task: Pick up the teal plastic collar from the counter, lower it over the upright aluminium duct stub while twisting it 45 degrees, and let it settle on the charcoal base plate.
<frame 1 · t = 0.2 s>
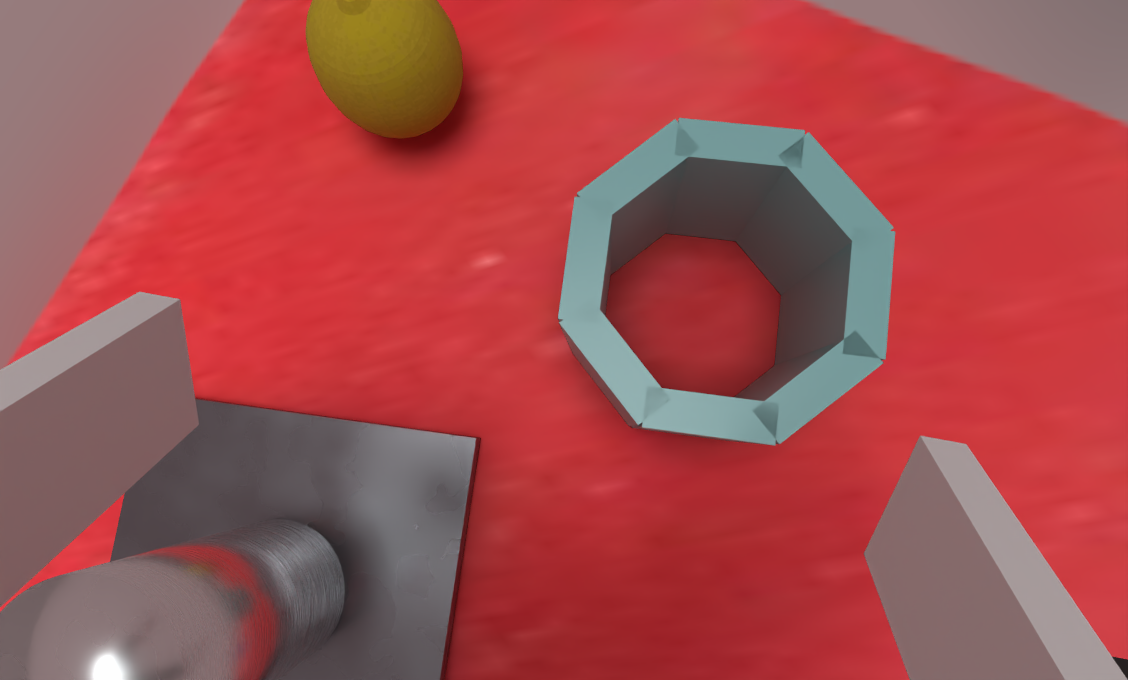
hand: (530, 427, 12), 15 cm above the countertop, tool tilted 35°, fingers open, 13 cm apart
collar: (691, 319, 28), on the countertop
lemon: (419, 110, 30), on the countertop
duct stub: (287, 586, 27), on the countertop
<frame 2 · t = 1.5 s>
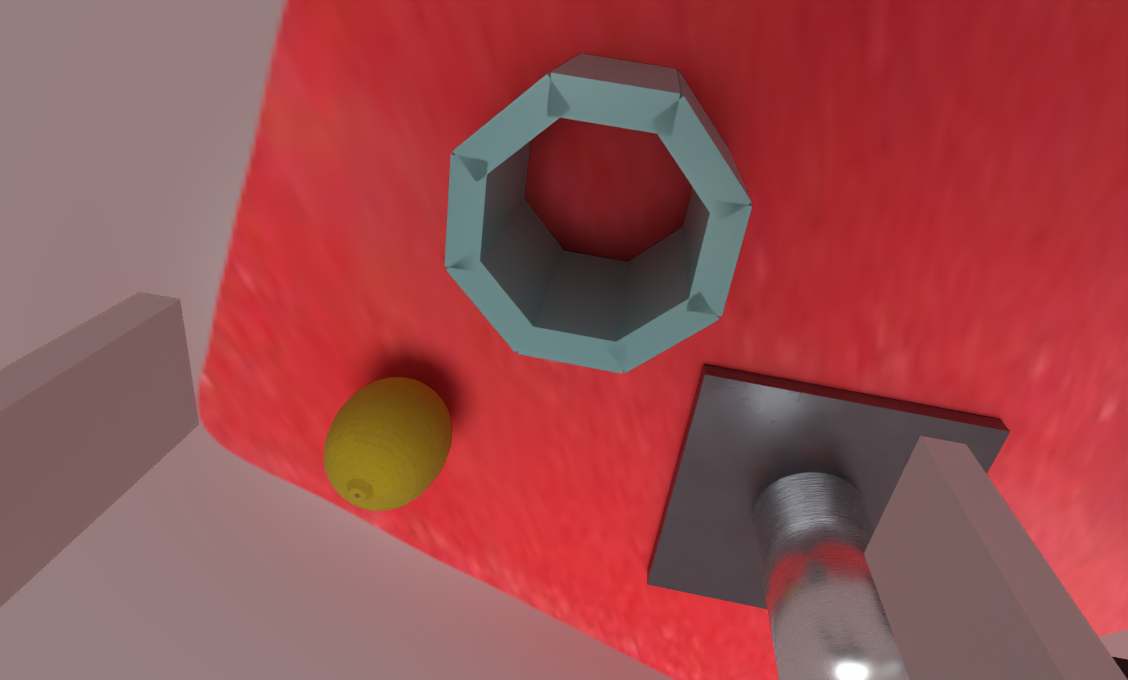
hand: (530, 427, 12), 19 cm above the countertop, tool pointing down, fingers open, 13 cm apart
collar: (608, 179, 29), on the countertop
lemon: (420, 394, 35), on the countertop
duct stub: (805, 503, 35), on the countertop
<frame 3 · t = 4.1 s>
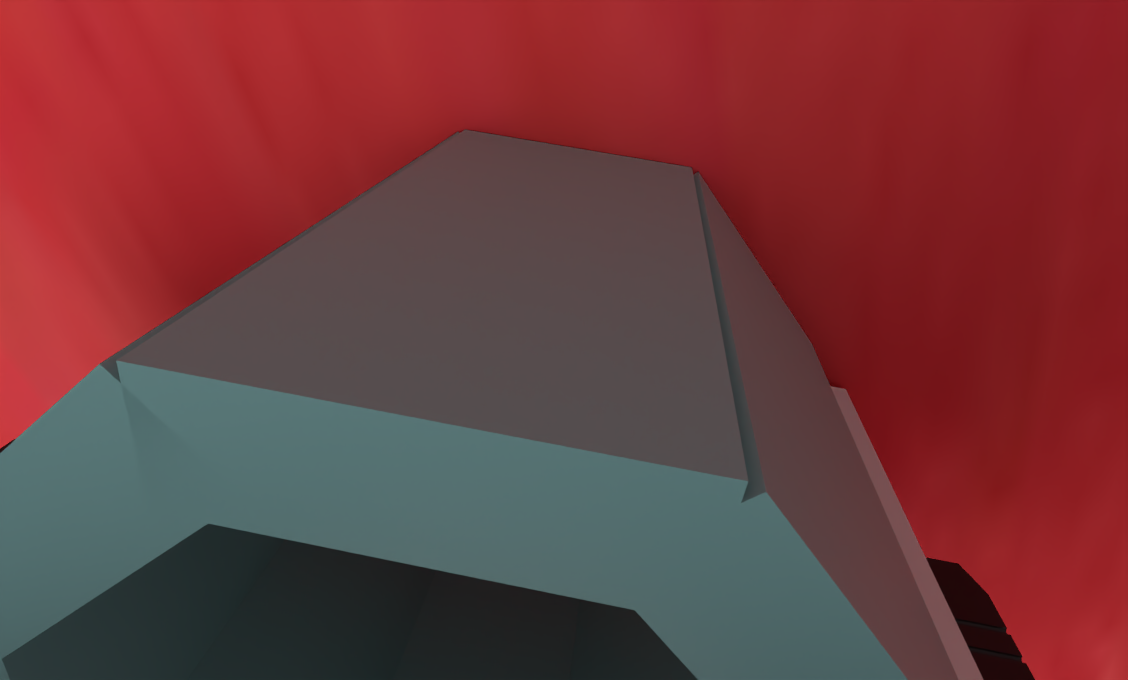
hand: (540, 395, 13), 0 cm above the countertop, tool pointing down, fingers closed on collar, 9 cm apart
collar: (543, 389, 13), on the countertop, touching gripper
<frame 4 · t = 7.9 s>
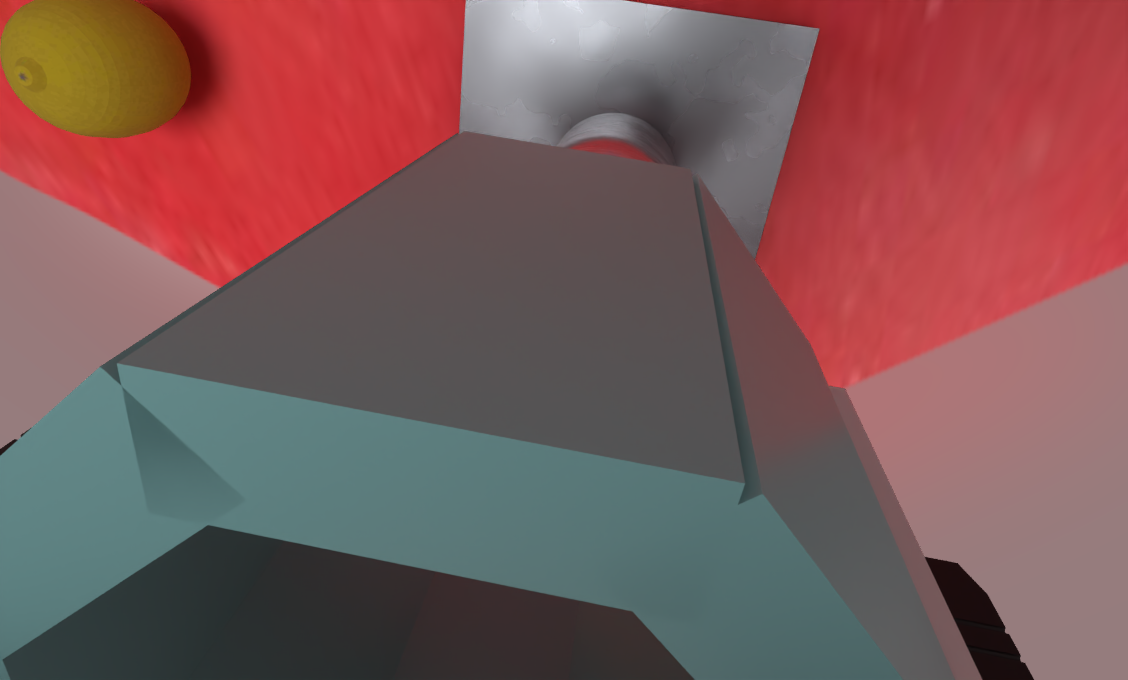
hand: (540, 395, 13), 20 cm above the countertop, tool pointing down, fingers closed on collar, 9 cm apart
collar: (542, 390, 13), point 19 cm above the countertop, touching gripper
lemon: (172, 57, 31), on the countertop
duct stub: (613, 173, 30), on the countertop
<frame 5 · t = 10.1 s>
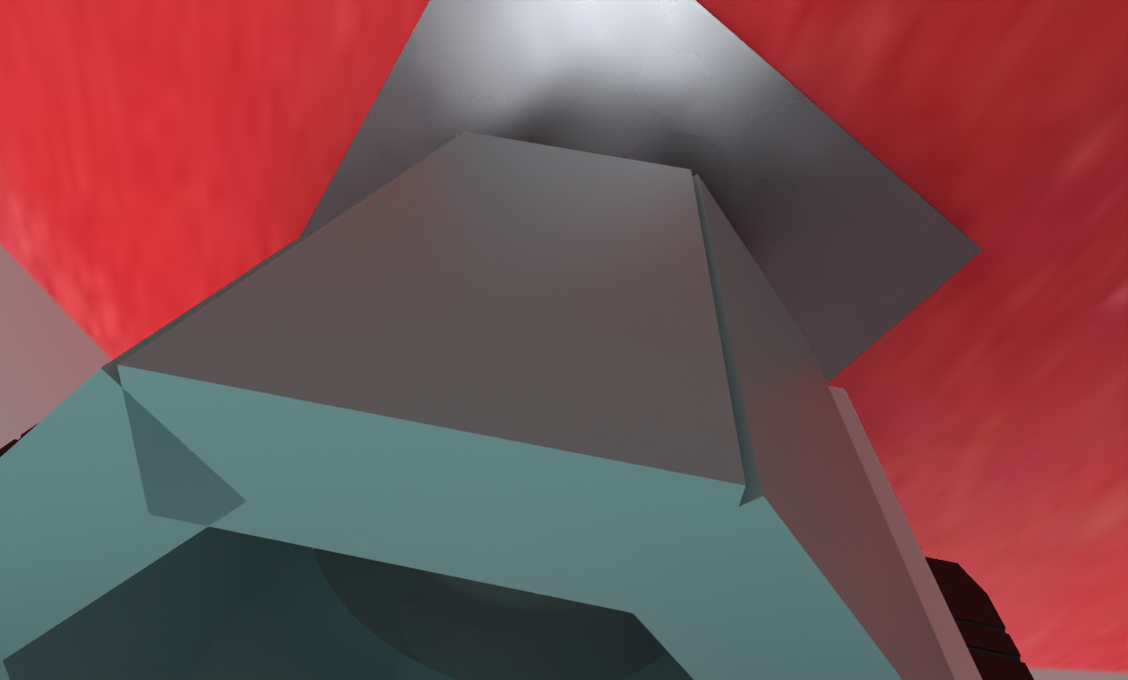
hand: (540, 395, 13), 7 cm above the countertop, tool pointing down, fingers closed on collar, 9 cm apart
collar: (542, 391, 13), point 7 cm above the countertop, touching gripper
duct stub: (585, 272, 19), on the countertop
when the fingers open (3 cm above the countertop, at t = 11.9 s): collar drops 2 cm, resting on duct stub.
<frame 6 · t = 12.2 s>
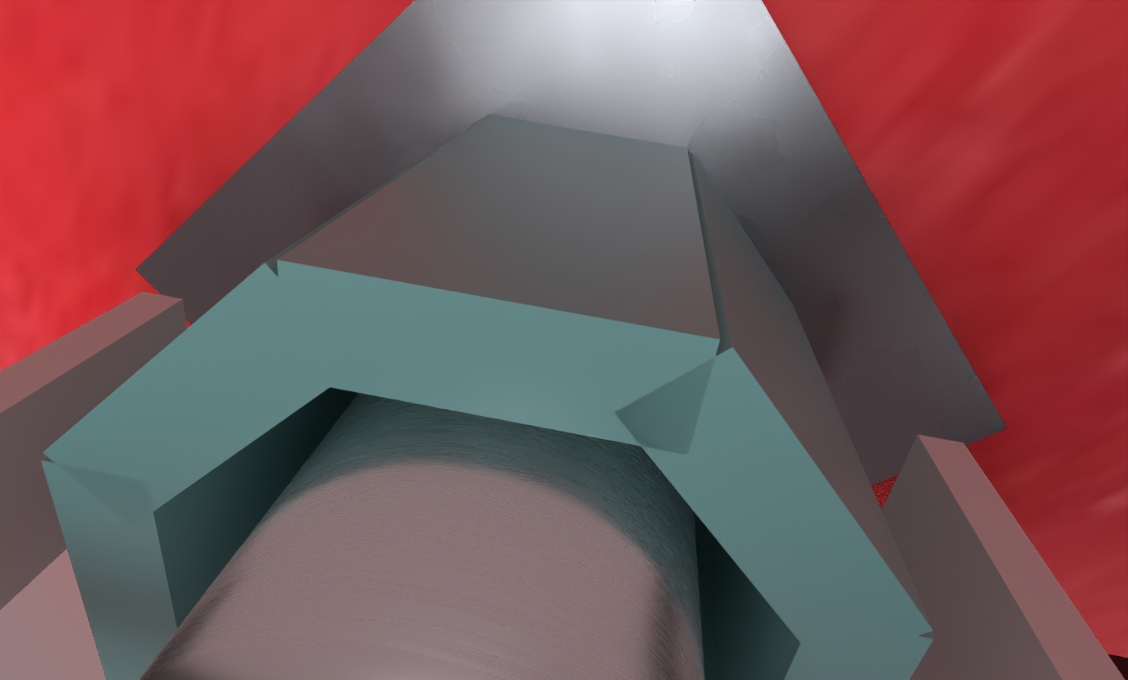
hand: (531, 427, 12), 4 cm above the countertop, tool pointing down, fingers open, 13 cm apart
collar: (555, 347, 15), point 1 cm above the countertop, touching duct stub
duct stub: (561, 326, 16), on the countertop
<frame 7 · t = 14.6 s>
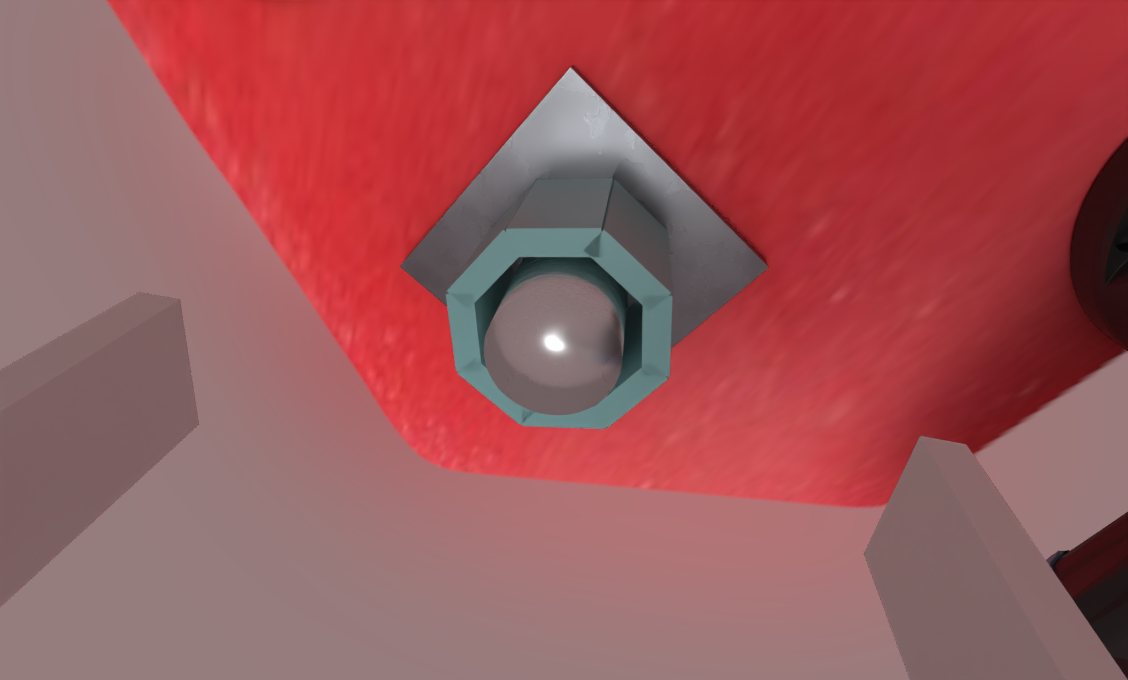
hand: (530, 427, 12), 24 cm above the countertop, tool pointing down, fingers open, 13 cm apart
collar: (577, 267, 35), point 1 cm above the countertop, touching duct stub
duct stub: (579, 260, 36), on the countertop
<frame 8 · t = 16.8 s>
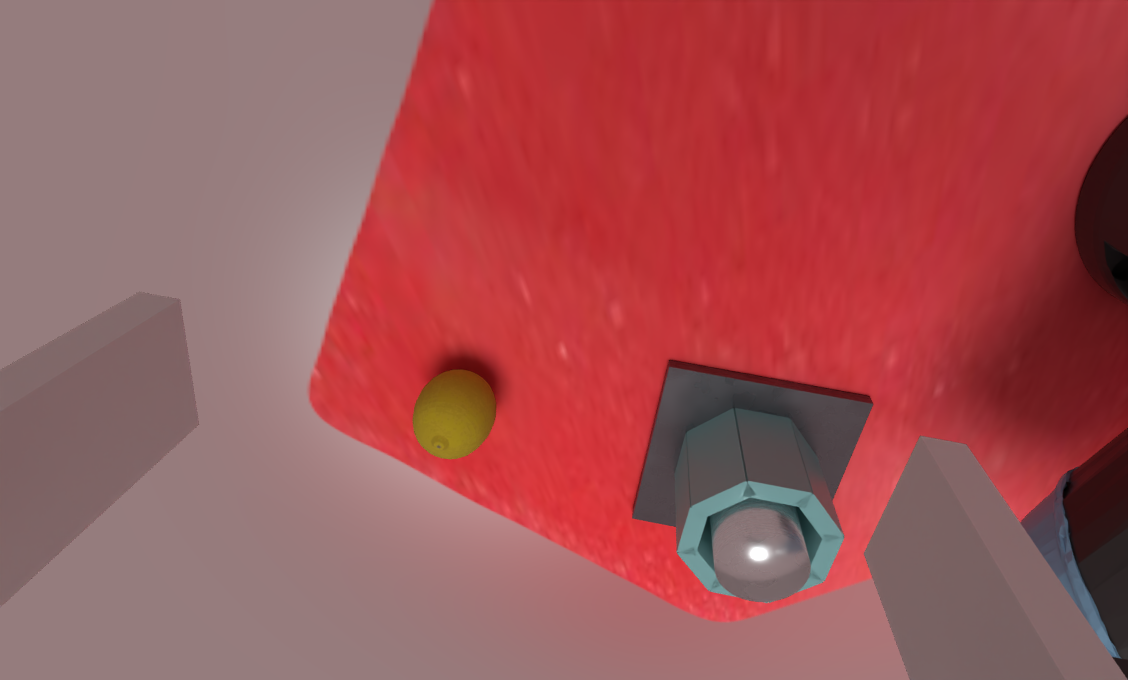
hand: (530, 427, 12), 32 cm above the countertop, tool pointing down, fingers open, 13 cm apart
collar: (744, 465, 49), point 1 cm above the countertop, touching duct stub
lemon: (470, 381, 50), on the countertop
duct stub: (742, 457, 50), on the countertop
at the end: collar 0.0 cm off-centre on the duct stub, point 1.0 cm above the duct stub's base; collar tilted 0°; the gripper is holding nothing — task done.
